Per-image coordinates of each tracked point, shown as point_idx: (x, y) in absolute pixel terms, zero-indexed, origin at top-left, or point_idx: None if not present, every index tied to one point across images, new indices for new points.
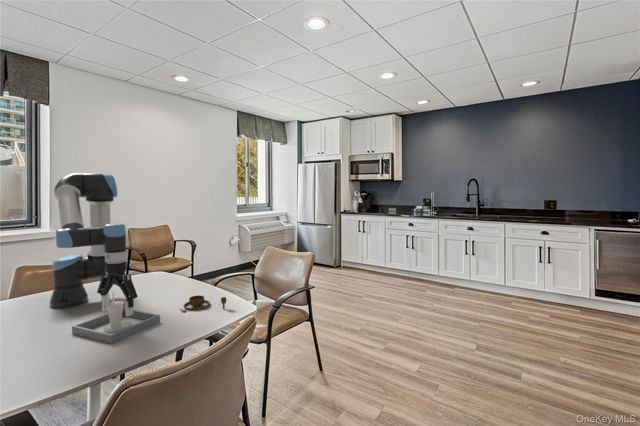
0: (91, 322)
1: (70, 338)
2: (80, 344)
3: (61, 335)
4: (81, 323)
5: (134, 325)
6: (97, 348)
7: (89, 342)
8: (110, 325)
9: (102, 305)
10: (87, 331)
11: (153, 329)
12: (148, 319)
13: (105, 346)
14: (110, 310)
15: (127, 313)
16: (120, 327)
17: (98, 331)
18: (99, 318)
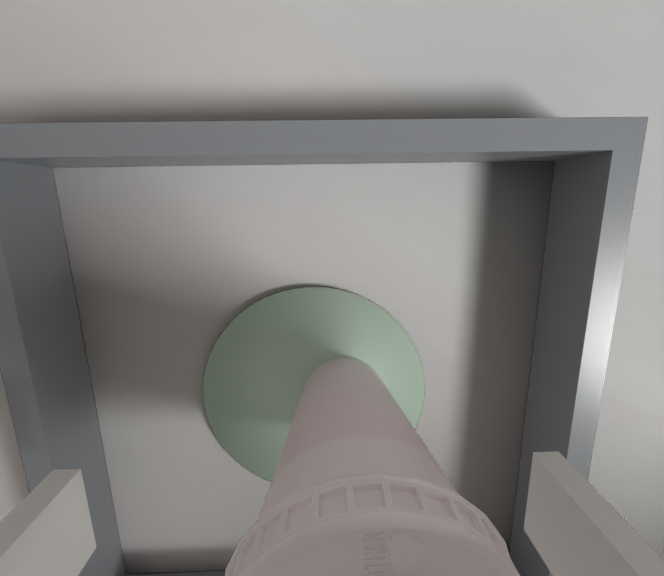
0: (569, 314)
1: (497, 55)
2: (272, 3)
3: (646, 63)
4: (611, 218)
5: (22, 417)
6: (31, 14)
7: (238, 74)
8: (361, 366)
9: (621, 524)
10: (362, 123)
11: (6, 482)
12: None
13: (11, 79)
14: (330, 463)
15: (22, 509)
16: (280, 393)
17: (206, 148)
18: (566, 399)
